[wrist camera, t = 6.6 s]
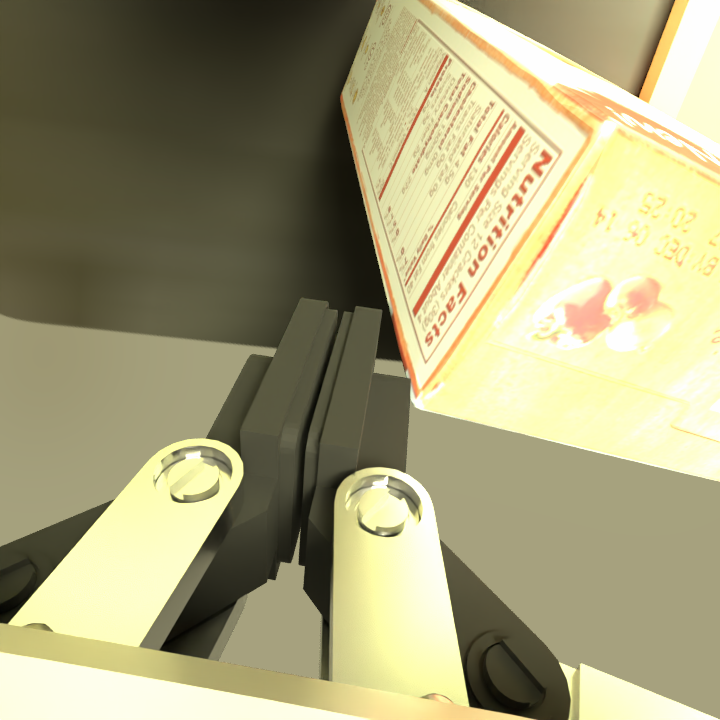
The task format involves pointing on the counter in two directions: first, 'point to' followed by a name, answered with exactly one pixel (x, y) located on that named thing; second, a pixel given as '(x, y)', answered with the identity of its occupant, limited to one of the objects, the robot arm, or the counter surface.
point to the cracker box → (539, 238)
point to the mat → (688, 67)
